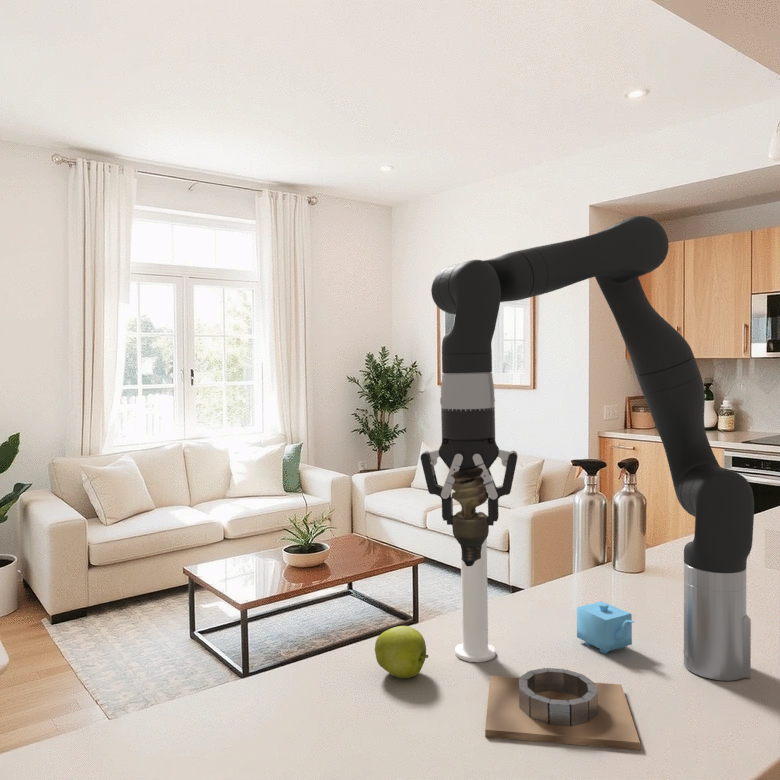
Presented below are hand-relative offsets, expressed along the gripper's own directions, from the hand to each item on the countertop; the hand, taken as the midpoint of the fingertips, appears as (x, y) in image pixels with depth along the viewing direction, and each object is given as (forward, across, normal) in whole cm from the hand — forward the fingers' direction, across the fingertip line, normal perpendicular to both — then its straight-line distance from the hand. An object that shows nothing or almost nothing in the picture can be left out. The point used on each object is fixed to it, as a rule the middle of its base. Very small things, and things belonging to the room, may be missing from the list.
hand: (470, 523), depth 96 cm
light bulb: (+6, 0, 0) cm, 6 cm away
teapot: (+29, -22, -27) cm, 45 cm away
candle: (+28, +1, -21) cm, 35 cm away
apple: (+28, +12, -11) cm, 33 cm away
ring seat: (+28, -12, -3) cm, 31 cm away
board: (+28, -12, -3) cm, 31 cm away
